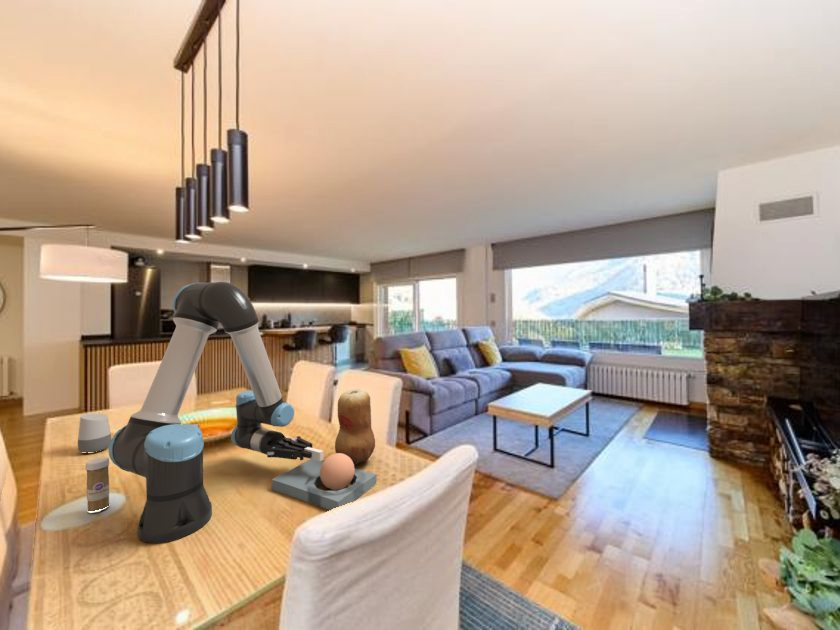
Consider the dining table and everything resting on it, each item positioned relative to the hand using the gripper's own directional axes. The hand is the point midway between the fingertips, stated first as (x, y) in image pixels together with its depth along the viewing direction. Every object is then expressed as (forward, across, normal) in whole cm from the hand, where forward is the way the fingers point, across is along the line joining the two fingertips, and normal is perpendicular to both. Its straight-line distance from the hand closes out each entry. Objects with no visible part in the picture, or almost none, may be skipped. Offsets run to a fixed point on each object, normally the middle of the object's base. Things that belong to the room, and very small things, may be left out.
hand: (321, 456), depth 105 cm
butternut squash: (-1, -17, -9) cm, 20 cm away
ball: (+5, -1, -4) cm, 6 cm away
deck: (0, 0, -9) cm, 9 cm away
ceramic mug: (-72, 0, -9) cm, 73 cm away
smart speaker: (-95, +20, -9) cm, 98 cm away
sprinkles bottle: (-44, +37, -9) cm, 58 cm away
